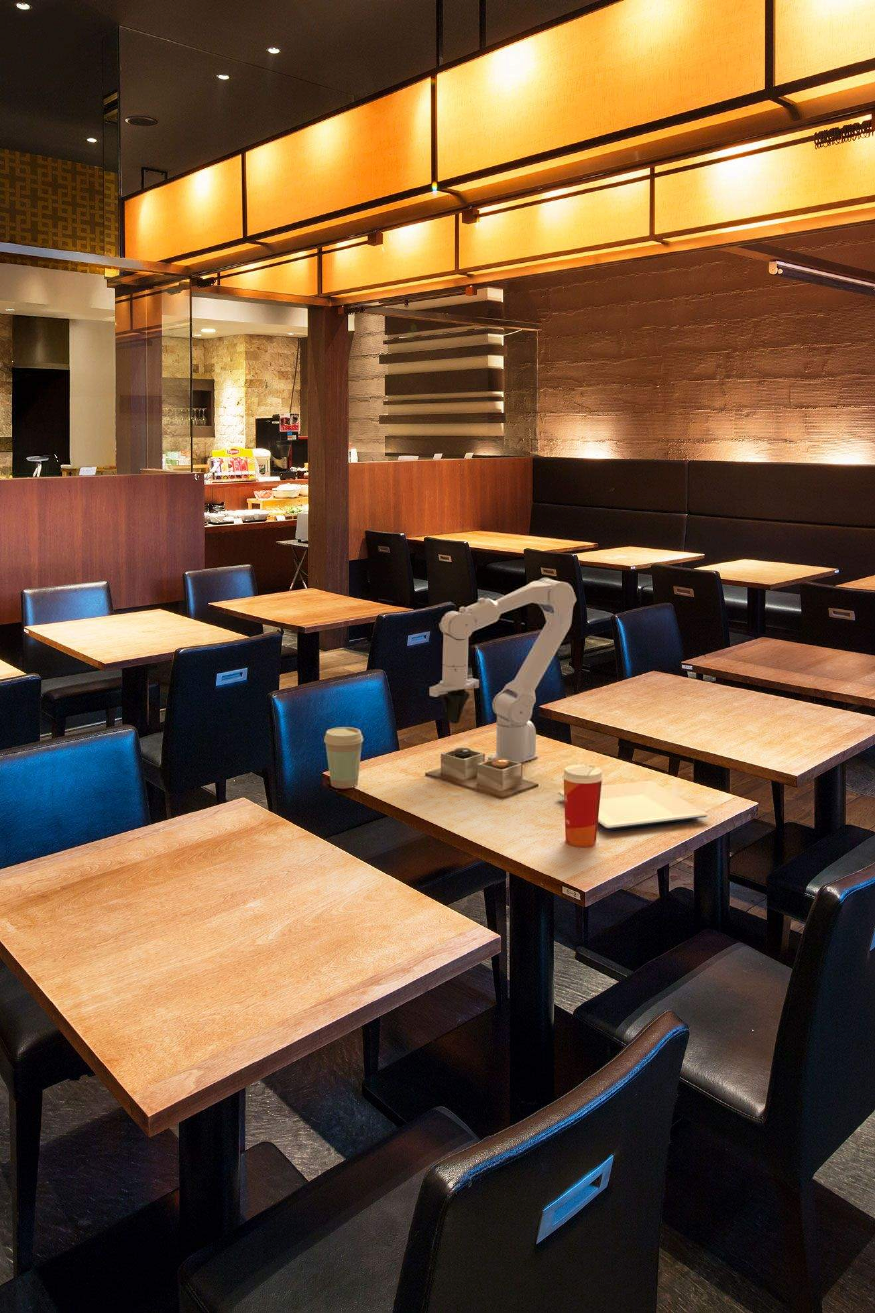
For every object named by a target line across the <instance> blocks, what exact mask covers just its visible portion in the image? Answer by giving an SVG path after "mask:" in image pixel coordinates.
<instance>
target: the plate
mask: <svg viewBox="0 0 875 1313" xmlns="http://www.w3.org/2000/svg"><path fill="white" fill-rule="evenodd" d="M557 793H558V795H560V796H561V797H563V798H564V789H560V790H558V791H557ZM708 816H709V814H708V813H706V812H705V811H703V810H702V809H699V808H698V807H696V806H695V805H693V804H691V803H690V802H688V801H686V800H684V799H683V798H681V797H679V796H678V795H676V794H674V793H672V792H671V791H669V790H667V789H666V788H664V787H662V786H661V785H659V784H658V783H656V782H654V781H652V780H643V781H634V782H627V783H626V782H624V783H617V784H608V785H607V784H606V785H601V795H600V806H599V817H598V824H600V825H601V826H602V827H604V828H605V829H607V830H613V829H620V828H628V827H629V828H630V827H637V826H645V825H654V824H660V823H669V822H676V821H677V822H678V821H684V820H685V821H686V820H691V819H692V820H693V819H700V818H702V819H703V818H707V817H708Z"/></svg>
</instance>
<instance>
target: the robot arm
mask: <svg viewBox="0 0 875 1313" xmlns="http://www.w3.org/2000/svg"><path fill="white" fill-rule="evenodd" d="M576 602H577V597H576V592H574V588H573V586H572V585H571V584H570V583H568V582H565V581H558V580H554V579H552V578H549V577H543V578H540V579H539V580H533V581H531V582H530V583H528V584H526V585H525V586H522V587H520V588H518V589H515V590H514V591H512V592H510V593H508V594H506V595H504V596H502V597H499V598H497V599H496V600H493V599H491V598H484V597H480V598H478V599H477V602H475V603H473V604H470V605H468V606H466V607H465V606H461V607H459V610H458V611H456V610H451V611H447V612H446V613H445V614H444V616H442V617H441V620H440V622H439V624H438V626H439V630H440V631H441V632H442V635H443V636H442V638H443V642H442V643H443V644H442V677H441V678H442V680H440V681H439V683H438V684H435V685H432V686H429V692H428V693H429V694H428V695H429V696H430V697H433V698H434V697H435V698H436V697H439V698H440V699H441V701H442V703H443V705H444V707H445V708H444V709H445V711H446V715H447V720H448V723H450V724H455V725H456V724H459V722H460V719H461V716H462V713H463V710H464V707H465V705H466V703H467V701H468V699H469V698H470V694H471V693H470V692H469V691H466V690H469V689H479V688H480V679H477V678H468V674H469V673H468V669H469V665H468V664H469V662H468V661H469V637H471V635H472V634H473V632H475V631H478V630H479V629H482V628H485V627H486V626H489V625H491V624H494V623H496V622H498V620H499V618H500V617H501V615H502V614H504V613H507V612H509V611H510V612H511V611H512V610H515V609H518V608H520V607H523V606H526V605H529V604H531V603H532V604H537V605H538V606H539V607H540V609H541V610H542V612H543V615H544V618H545V624H544V626H543V628H542V629H541V631H540V633H539V635H538V637H537V638H536V640H535V642H534V644H533V645H532V648H531V649H530V651H529V652H528V655H527V656H526V658H525V660H524V661H523V663H522V665H521V667H520V668H519V670H518V672H517V674H516V676H515V678H514V679H513V680H511V681H510V682H508V683H506V684H505V685H504V687H503V689H502V690H501V691H500V692H499V693H497V694H496V695H495V696H494V698H493V700H492V703H491V704H492V710H493V712H494V713H495V714H496V746H495V748H496V752H495V754H492V755H489V756H488V759H489V760H491V759H494V758H498V757H499V758H505V759H508V760H510V761H514V762H517V763H521V764H523V763H525V762H529V761H531V760H533V759H537V758H538V757H539V755H538V754H537V753H536V750H537V749H536V748H537V747H536V746H537V744H536V743H537V731H536V727H535V725H534V723H533V722H532V721H531V718H532V715H533V708H534V705H535V704H536V701H537V699H536V692H535V691H536V689H537V687H538V686H539V683H540V681H541V680H542V678H543V676H544V675H545V673H546V671H547V669H548V667H549V666H550V664H551V661H552V660H553V659H554V656H555V655H556V653H557V651H558V649H559V648H560V646H561V644H562V643H563V641H564V639H565V637H566V635H567V633H568V632H569V630H570V628H571V626H572V621H573V610H574V606H575V603H576Z"/></svg>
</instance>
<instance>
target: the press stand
mask: <svg viewBox="0 0 875 1313" xmlns="http://www.w3.org/2000/svg"><path fill="white" fill-rule="evenodd" d="M470 750H471V757H469V758H465V759H461V758H457V757H455V749H452V750H449V751H446V752H443V753H440V768H437V769H434V770H430V771H428V772H424V776H427V777H430V778H434V779H437V780H440V781H443V782H446V783H450V784H453V785H456V786H459V787H463V788H467V789H469V790H472V791H474V792H475V791H476V792H479V793H482V794H486V795H489V796H492V797H495V798H498V799H501V800H503V799H507V798H509V797H513V796H514V795H517V794H520V793H522V792H525V791H529V790H532V789H534V788H536V787H539V783H538V782H534V781H531V780H527V779H523V776H524V774H523V772H524V771H523V770H524V769H523V768H524V767H523V765H524V763H517V762H514V761H510V760H508V768H505V769H503V770H500V769H496V768H493V767H492V759H489V760H485V759H486V753H484V752H481V751H477V750H473V749H470ZM498 758H499V757H498Z"/></svg>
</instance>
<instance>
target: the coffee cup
mask: <svg viewBox="0 0 875 1313" xmlns="http://www.w3.org/2000/svg"><path fill="white" fill-rule="evenodd" d="M363 741H364V738H363V734H362V731H361V730H360V729H359V728H357V727H356V728H355V727H351V726H350V727H349V726H348V727H347V726H341V727H339V726H338V727H334V728H330V729H327V730H326V732H325V736H324V739H323V743H325V749H326V756H327V758H326V759H327V764H328V773H329V779H330V785H331V787H333V788H335V789H342V790H343V789H351V788H353V787H352V786H355V785H357V786H358V784H359V783H358V782H359V775H360V765H361V753H362V746H363ZM355 787H356V786H355Z"/></svg>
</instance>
